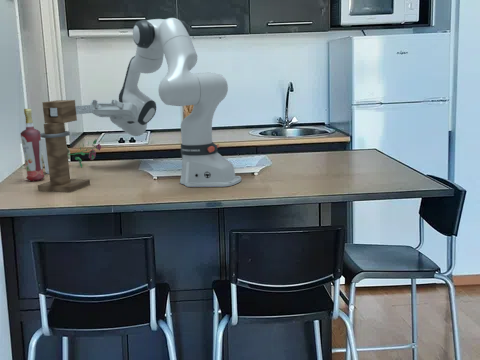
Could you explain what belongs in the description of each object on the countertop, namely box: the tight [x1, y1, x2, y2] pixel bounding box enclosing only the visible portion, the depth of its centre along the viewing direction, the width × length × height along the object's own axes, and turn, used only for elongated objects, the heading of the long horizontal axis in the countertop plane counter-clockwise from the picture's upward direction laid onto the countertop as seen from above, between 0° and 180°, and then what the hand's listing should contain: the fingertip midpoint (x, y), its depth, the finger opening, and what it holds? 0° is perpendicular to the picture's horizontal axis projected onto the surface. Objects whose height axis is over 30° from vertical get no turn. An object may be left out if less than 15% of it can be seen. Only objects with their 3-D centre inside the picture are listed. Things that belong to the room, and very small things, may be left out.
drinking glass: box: [41, 137, 49, 175], centre depth 250 cm, size 7×7×15 cm
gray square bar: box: [50, 104, 94, 116], centre depth 225 cm, size 3×22×3 cm, turn 159°
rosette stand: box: [37, 99, 91, 193], centre depth 218 cm, size 14×13×31 cm
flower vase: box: [24, 138, 102, 169], centre depth 263 cm, size 12×12×35 cm
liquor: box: [20, 108, 45, 182], centre depth 235 cm, size 7×7×28 cm
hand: (103, 101), depth 241 cm, fingers open, 8 cm apart
